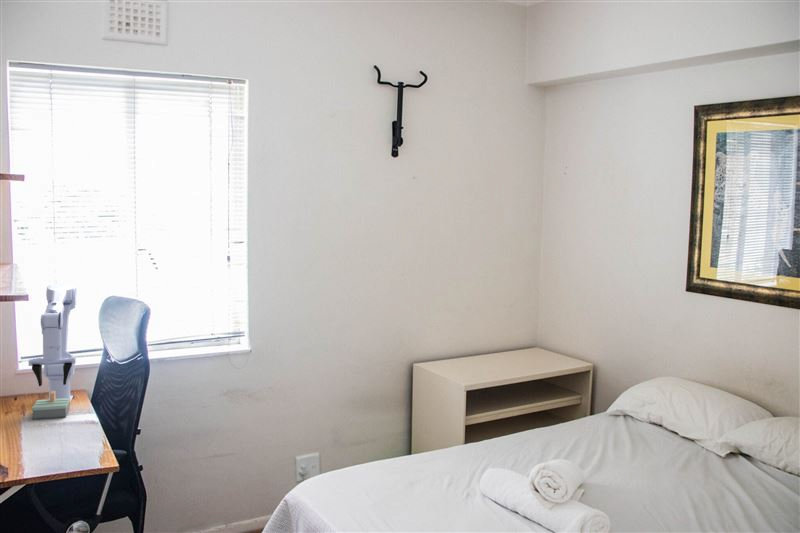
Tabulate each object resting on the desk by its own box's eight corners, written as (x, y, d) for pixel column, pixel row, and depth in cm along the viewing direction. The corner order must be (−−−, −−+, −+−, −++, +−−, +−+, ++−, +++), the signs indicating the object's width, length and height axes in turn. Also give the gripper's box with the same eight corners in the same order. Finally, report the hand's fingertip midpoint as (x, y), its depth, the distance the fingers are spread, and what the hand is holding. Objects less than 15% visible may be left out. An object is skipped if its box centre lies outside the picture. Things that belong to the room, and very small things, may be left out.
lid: (37, 404, 232) (37, 391, 232) (70, 402, 236) (70, 389, 236) (32, 412, 223) (31, 398, 222) (66, 410, 226) (66, 396, 226)
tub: (38, 411, 233) (38, 402, 232) (69, 409, 236) (69, 400, 236) (32, 419, 223) (32, 410, 223) (65, 417, 227) (65, 408, 226)
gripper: (26, 349, 224) (27, 388, 225) (73, 347, 229) (74, 386, 230) (30, 345, 231) (31, 384, 232) (76, 344, 236) (76, 381, 237)
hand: (52, 384), depth 232 cm, fingers open, 7 cm apart
